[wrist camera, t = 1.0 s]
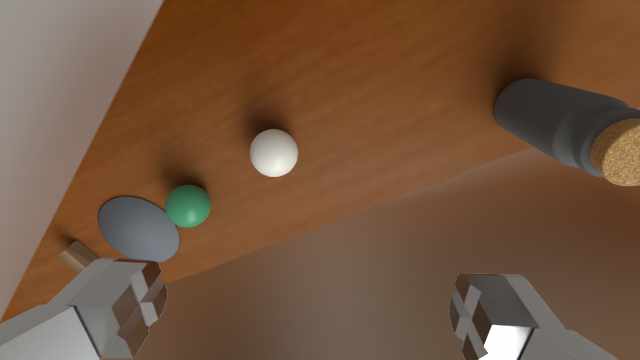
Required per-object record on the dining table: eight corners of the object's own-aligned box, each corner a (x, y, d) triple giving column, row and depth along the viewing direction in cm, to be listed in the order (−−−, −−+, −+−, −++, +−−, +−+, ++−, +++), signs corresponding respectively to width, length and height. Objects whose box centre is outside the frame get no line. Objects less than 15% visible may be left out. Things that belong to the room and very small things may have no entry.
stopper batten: (77, 239, 46) (64, 250, 44) (117, 273, 49) (107, 285, 46) (69, 244, 46) (56, 255, 44) (110, 278, 49) (99, 289, 47)
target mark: (135, 182, 41) (135, 182, 40) (196, 242, 45) (195, 243, 45) (82, 219, 44) (81, 220, 44) (143, 272, 48) (142, 273, 48)
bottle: (483, 100, 33) (581, 147, 20) (537, 65, 31) (686, 91, 18) (505, 140, 35) (608, 208, 22) (557, 110, 33) (705, 164, 20)
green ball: (198, 170, 39) (177, 190, 34) (225, 201, 41) (209, 224, 36) (169, 189, 41) (146, 211, 36) (196, 218, 43) (178, 242, 38)
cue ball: (283, 114, 35) (274, 128, 30) (309, 151, 37) (304, 170, 32) (247, 138, 37) (233, 154, 32) (274, 172, 39) (264, 193, 34)
